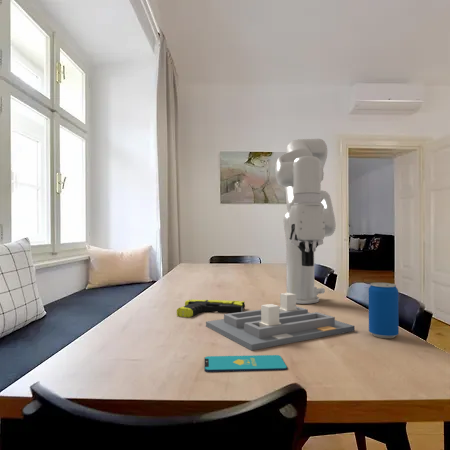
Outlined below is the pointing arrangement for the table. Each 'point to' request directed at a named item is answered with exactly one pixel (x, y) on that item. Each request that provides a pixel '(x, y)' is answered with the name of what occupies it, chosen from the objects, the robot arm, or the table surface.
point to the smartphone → (244, 363)
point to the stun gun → (210, 307)
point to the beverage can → (383, 310)
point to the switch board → (277, 328)
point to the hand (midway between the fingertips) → (307, 265)
